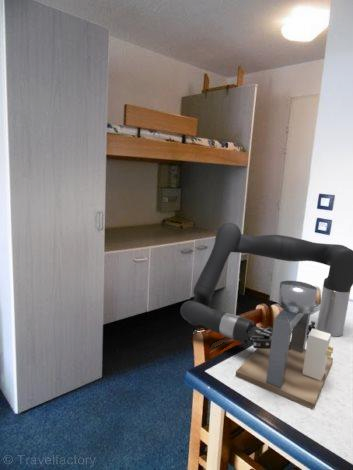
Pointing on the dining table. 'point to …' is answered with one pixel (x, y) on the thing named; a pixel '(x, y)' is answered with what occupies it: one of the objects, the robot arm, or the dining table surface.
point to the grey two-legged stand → (289, 326)
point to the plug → (317, 354)
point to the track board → (294, 383)
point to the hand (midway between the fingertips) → (290, 346)
